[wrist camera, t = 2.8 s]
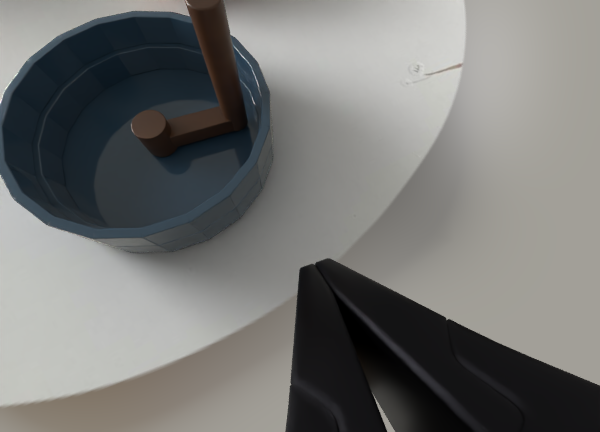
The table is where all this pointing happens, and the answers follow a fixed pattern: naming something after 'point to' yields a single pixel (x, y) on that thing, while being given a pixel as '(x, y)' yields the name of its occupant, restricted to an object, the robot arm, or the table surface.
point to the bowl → (130, 135)
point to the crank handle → (224, 75)
